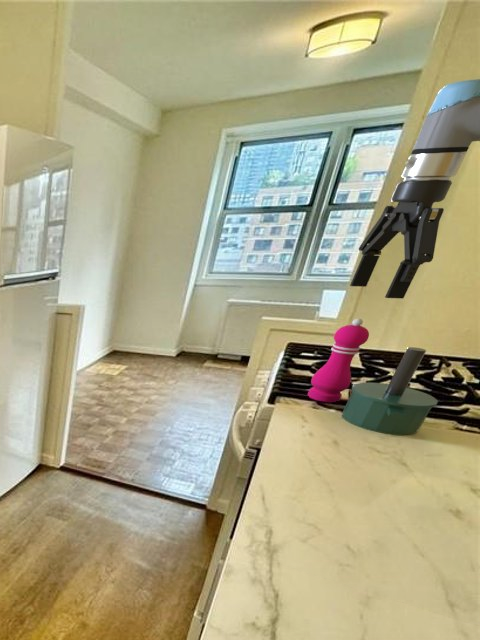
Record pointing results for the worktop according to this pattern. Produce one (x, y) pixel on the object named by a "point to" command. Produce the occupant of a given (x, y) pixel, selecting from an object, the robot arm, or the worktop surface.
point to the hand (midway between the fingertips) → (374, 291)
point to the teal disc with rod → (399, 385)
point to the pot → (383, 416)
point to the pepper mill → (338, 363)
